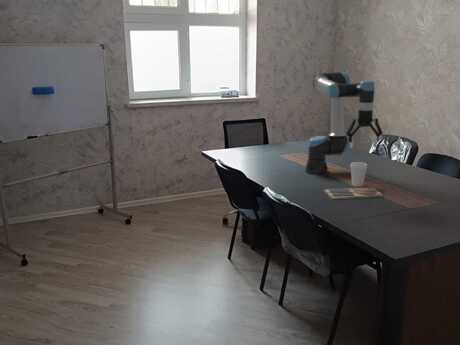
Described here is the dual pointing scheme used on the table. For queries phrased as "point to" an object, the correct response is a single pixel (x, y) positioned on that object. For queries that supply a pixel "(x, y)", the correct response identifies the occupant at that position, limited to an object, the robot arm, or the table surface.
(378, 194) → the sorting board
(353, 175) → the foam cup
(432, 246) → the table surface
